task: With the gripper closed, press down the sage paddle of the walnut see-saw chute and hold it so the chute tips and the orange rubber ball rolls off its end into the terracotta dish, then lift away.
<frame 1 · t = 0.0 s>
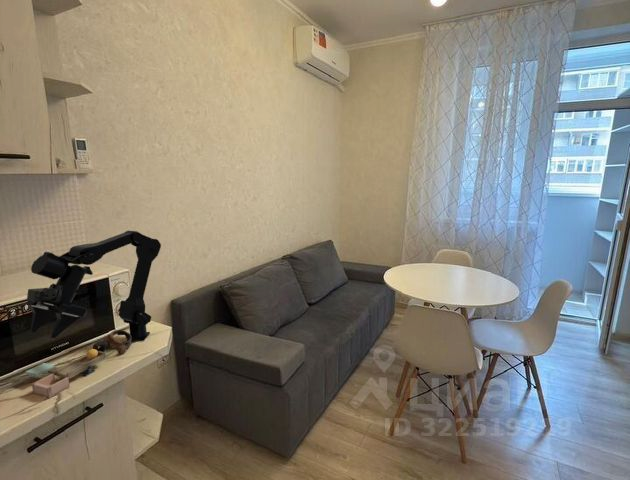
hand: (42, 335, 94), 15 cm above the counter, tool tilted 35°, fingers open, 9 cm apart
lever: (68, 363, 101), point 3 cm above the counter, hinge at 0.0°, touching ball
dish: (51, 390, 93), on the counter
fulcrum: (84, 372, 102), on the counter
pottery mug: (112, 352, 114), on the counter
ball: (92, 354, 104), point 5 cm above the counter, touching lever
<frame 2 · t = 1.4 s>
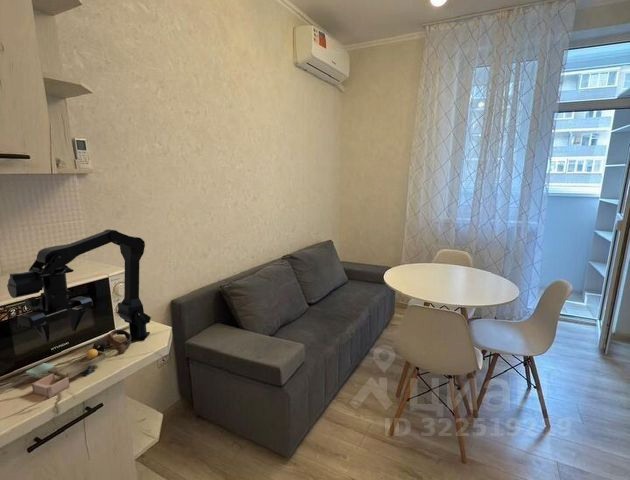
hand: (60, 336, 102), 11 cm above the counter, tool pointing down, fingers open, 8 cm apart
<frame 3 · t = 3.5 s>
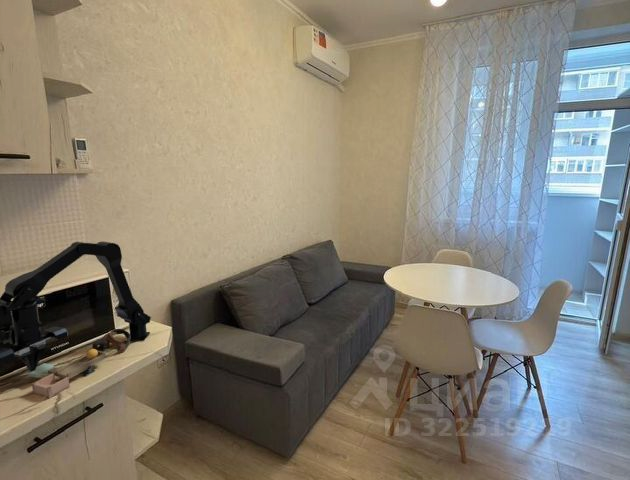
hand: (32, 370, 96), 3 cm above the counter, tool pointing down, fingers closed, pressing on lever
lever: (68, 364, 100), point 3 cm above the counter, hinge at 1.2°, touching gripper
ball: (92, 353, 104), point 5 cm above the counter
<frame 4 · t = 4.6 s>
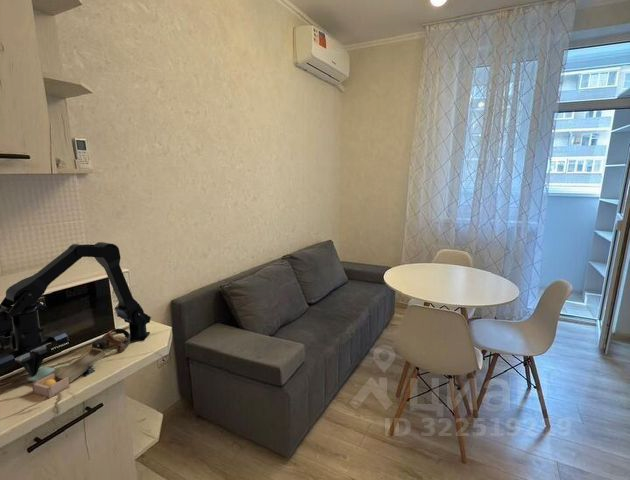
hand: (33, 375, 96), 2 cm above the counter, tool pointing down, fingers closed
lever: (68, 365, 100), point 3 cm above the counter, hinge at 12.8°, touching gripper
ball: (49, 384, 92), point 2 cm above the counter, tilted 160°, touching dish
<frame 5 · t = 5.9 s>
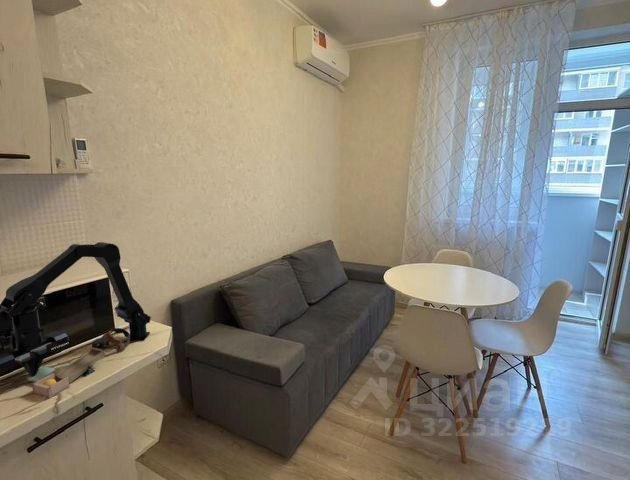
hand: (33, 375, 96), 2 cm above the counter, tool pointing down, fingers closed
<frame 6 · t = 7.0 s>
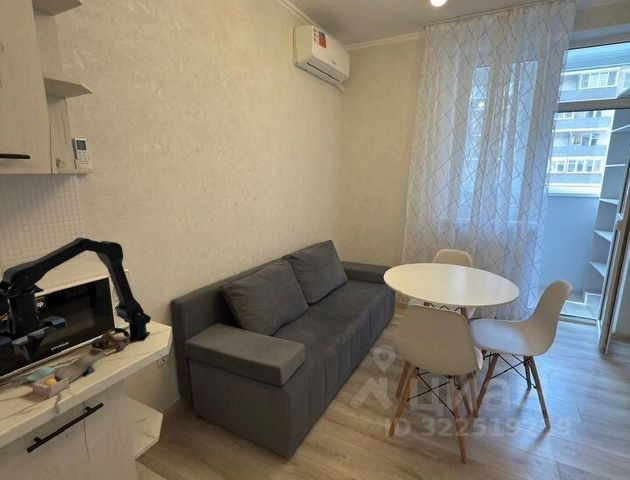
hand: (30, 360, 96), 7 cm above the counter, tool pointing down, fingers closed
lever: (68, 365, 100), point 3 cm above the counter, hinge at 12.9°
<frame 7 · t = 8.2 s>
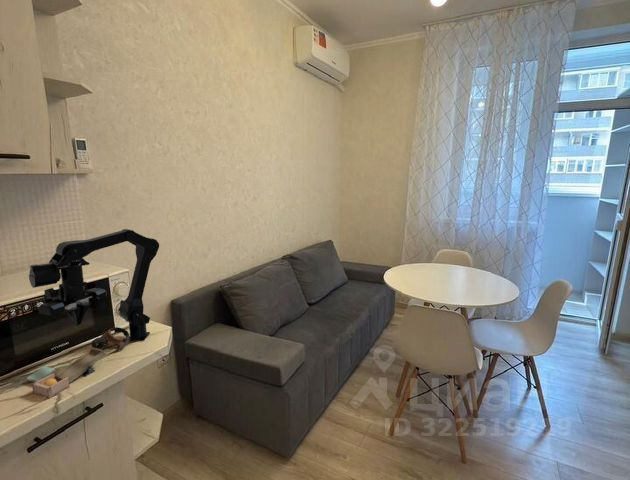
hand: (77, 325, 108), 12 cm above the counter, tool pointing down, fingers closed
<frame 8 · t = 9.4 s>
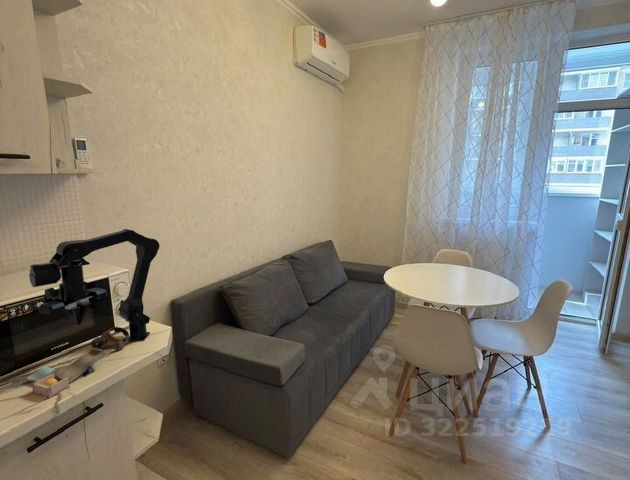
hand: (77, 324, 108), 12 cm above the counter, tool pointing down, fingers closed
at the end: ball 0.1 cm from the dish (horizontally); ball point 2.0 cm above the counter; lever at +13° (first picture: +0°) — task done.
